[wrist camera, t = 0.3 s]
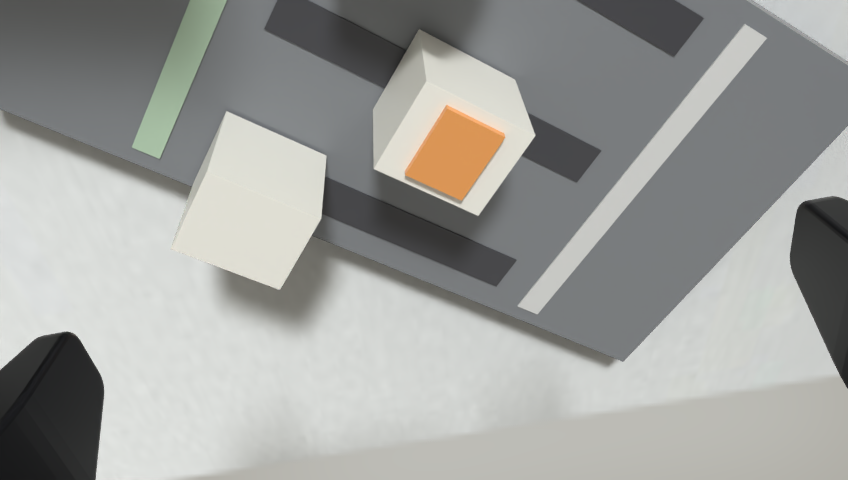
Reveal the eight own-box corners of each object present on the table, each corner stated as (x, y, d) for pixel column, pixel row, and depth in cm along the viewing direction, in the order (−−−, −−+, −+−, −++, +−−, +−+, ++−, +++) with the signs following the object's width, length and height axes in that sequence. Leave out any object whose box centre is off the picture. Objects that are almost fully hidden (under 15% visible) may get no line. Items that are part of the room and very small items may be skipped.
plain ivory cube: (326, 155, 22) (321, 218, 20) (289, 222, 24) (279, 289, 21) (226, 111, 21) (207, 171, 19) (193, 183, 23) (170, 249, 20)
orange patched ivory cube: (515, 79, 21) (537, 139, 19) (465, 153, 23) (478, 220, 20) (418, 29, 20) (427, 84, 18) (372, 109, 22) (373, 173, 19)
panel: (861, 70, 23) (884, 89, 22) (614, 338, 29) (623, 362, 28) (121, -406, 16) (105, -411, 15) (-10, 79, 22) (-28, 99, 21)
